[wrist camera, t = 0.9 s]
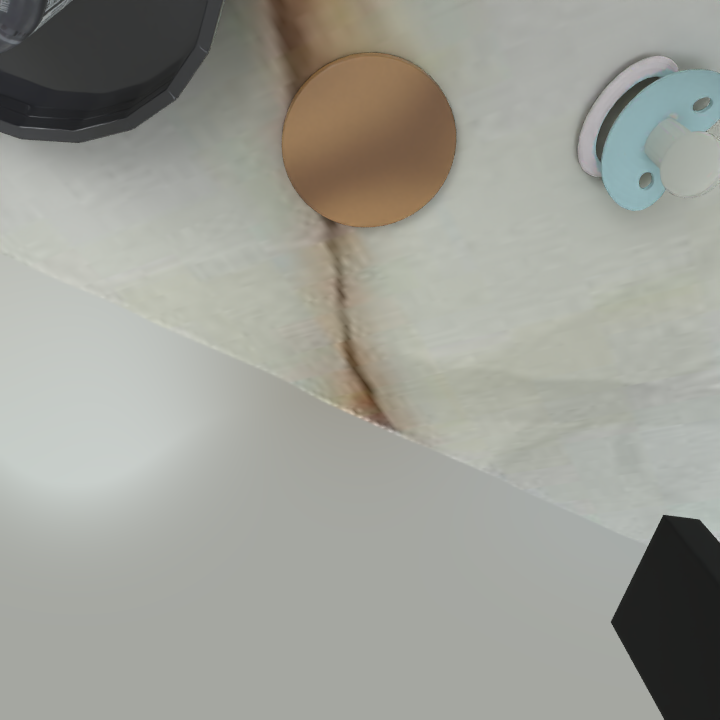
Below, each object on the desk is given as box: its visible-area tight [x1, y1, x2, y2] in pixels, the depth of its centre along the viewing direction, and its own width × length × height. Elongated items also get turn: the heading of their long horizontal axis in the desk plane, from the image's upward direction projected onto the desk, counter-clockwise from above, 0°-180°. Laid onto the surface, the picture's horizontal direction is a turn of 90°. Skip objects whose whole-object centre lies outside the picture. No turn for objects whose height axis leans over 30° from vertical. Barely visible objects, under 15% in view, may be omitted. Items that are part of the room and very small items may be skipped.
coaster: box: [282, 53, 456, 227], centre depth 33 cm, size 9×9×1 cm
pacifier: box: [578, 56, 720, 211], centre depth 31 cm, size 7×6×6 cm
